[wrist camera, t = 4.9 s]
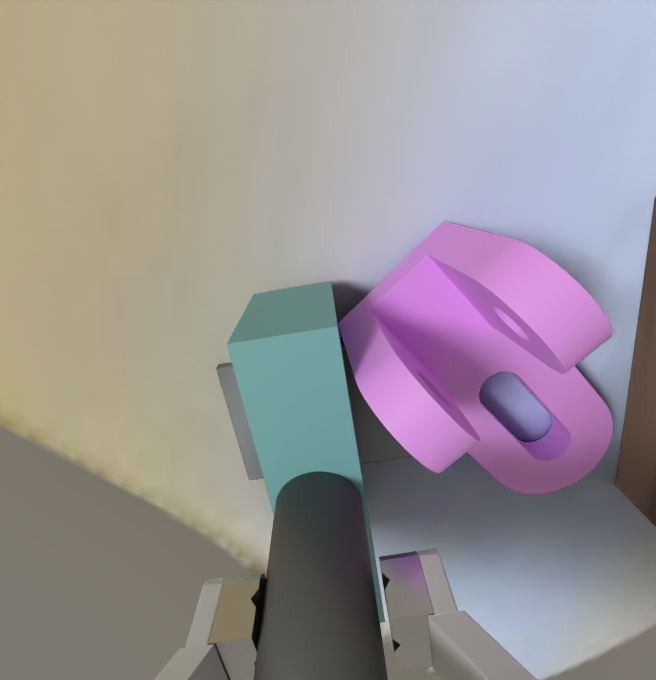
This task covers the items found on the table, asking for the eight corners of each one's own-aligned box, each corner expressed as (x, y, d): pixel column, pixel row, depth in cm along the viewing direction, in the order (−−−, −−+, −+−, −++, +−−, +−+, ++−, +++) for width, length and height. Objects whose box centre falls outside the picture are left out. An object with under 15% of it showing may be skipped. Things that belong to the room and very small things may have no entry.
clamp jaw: (330, 281, 15) (369, 556, 4) (369, 517, 20) (436, 954, 9) (253, 294, 15) (90, 594, 4) (308, 526, 20) (299, 969, 9)
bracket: (337, 323, 16) (367, 416, 10) (443, 221, 15) (557, 249, 9) (517, 492, 20) (623, 638, 14) (612, 421, 19) (775, 544, 13)
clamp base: (736, 183, 15) (980, 186, 10) (675, 476, 20) (810, 589, 15) (192, 274, 16) (124, 325, 10) (267, 534, 21) (250, 662, 16)
